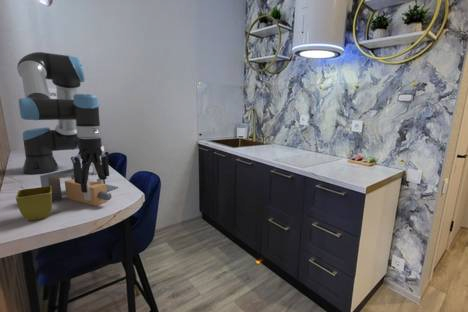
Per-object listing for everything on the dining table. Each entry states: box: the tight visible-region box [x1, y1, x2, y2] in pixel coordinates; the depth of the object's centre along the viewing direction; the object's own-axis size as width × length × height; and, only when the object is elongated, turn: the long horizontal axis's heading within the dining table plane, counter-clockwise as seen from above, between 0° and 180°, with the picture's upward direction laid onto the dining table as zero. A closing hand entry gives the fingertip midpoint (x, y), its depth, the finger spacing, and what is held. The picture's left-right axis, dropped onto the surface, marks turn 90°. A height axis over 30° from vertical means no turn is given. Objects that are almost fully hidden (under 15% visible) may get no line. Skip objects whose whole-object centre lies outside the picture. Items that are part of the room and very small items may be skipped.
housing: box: [39, 167, 82, 203], centre depth 99 cm, size 5×16×10 cm, turn 156°
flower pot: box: [15, 186, 53, 222], centre depth 79 cm, size 9×9×9 cm
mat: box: [105, 183, 119, 193], centre depth 111 cm, size 22×7×1 cm, turn 66°
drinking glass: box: [91, 145, 105, 175], centre depth 131 cm, size 7×7×15 cm
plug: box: [64, 178, 112, 207], centre depth 94 cm, size 21×5×7 cm, turn 66°
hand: (94, 197), depth 93 cm, fingers closed on plug, 5 cm apart
